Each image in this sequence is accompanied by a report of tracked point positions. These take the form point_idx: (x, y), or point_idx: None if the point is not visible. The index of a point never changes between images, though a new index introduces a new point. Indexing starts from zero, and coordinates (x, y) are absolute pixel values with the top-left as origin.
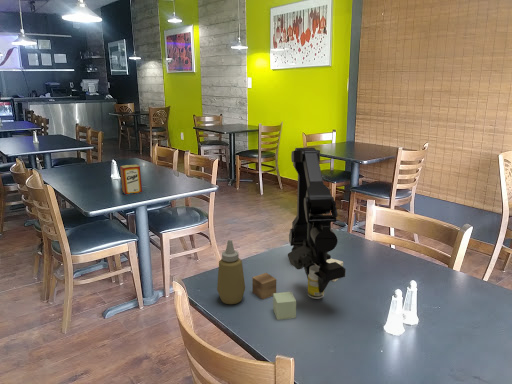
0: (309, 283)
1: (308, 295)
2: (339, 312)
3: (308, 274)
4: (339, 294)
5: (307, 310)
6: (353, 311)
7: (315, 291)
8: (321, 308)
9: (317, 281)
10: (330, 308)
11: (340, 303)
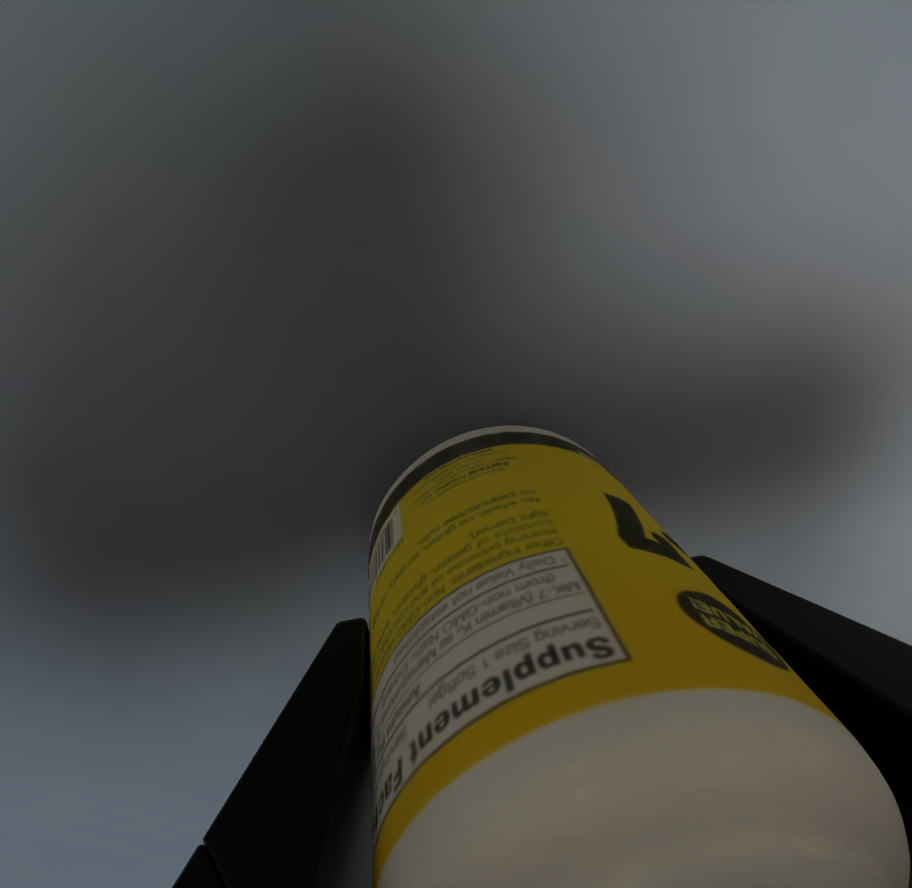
0: (558, 571)
1: (511, 426)
2: (39, 652)
3: (831, 763)
4: None
5: (171, 241)
6: (45, 788)
7: (392, 566)
8: (190, 478)
9: (387, 824)
10: (165, 587)
11: (262, 722)
